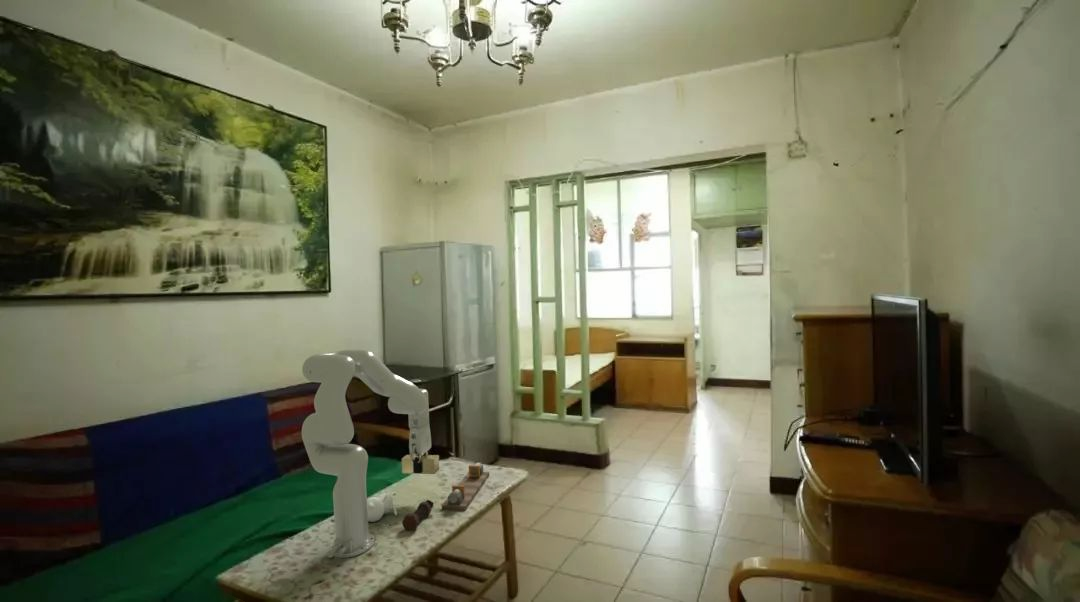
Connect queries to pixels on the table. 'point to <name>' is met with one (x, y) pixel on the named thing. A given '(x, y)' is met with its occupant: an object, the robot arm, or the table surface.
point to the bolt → (417, 516)
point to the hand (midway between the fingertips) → (420, 469)
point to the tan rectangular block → (428, 464)
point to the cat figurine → (379, 506)
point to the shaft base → (466, 489)
